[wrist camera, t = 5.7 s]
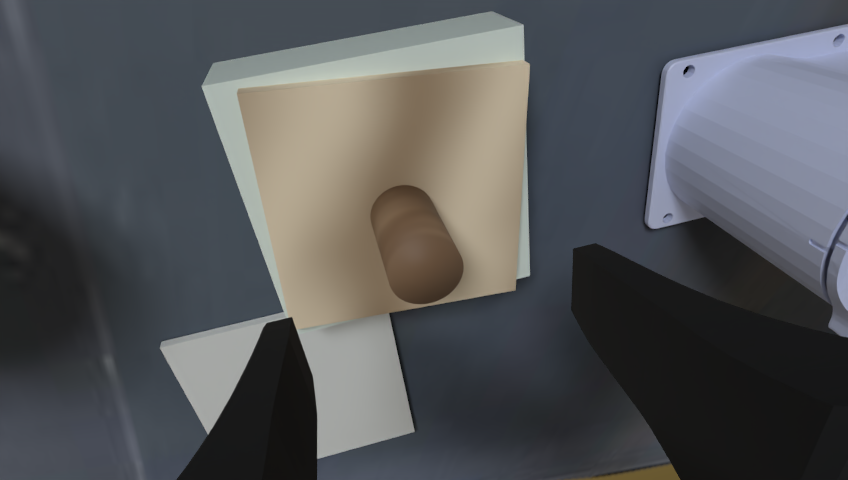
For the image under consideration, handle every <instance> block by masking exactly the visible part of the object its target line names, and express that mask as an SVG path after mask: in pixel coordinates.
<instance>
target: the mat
mask: <svg viewBox="0 0 848 480" xmlns="http://www.w3.org/2000/svg"><path fill="white" fill-rule="evenodd" d="M285 318H286V316H285V313H284V312H282V313H278V314H274V315H270V316H266V317H261V318H257V319H253V320H249V321H245V322H241V323H237V324H233V325H228V326H224V327H220V328H216V329H212V330H208V331H204V332H200V333H195V334H191V335H187V336H183V337H179V338H175V339H171V340H167V341H162V342H161V346H160V349H161V351H162V353H163V354H164V356H165V358H166V360H167V362H168V363H169V365H170V367H171V369H172V371H173V372H174V374H175V376H176V378H177V380H178V381H179V383H180V385H181V387H182V389H183V390H184V392H185V394H186V396H187V397H188V399H189V401H190V403H191V405H192V406H193V408H194V410H195V412H196V414H197V415H198V417H199V419H200V421H201V423H202V424H203V426H204V428H205V430H206V432H207V433H208V434H209V432H210V431H211V429H212V428H213V426H214V424H215V423H216V421H217V419H218V418H219V416H220V414H221V412H222V411H223V409H224V407H225V405H226V404H227V402H228V400H229V399H230V397H231V395H232V393H233V391H234V389H235V387H236V385H237V383H238V381H239V379H240V377H241V375H242V373H243V371H244V369H245V367H246V365H247V363H248V361H249V359H250V357H251V355H252V353H253V350H254V348H255V346H256V344H257V341H258V339H259V337H260V334H261V332H262V329H263V327H264V326H265V325H266V323H268V322H273V321H277V320H281V319H285ZM299 338H300V341H301V344H302V347H303V350H304V352H305V355H306V358H307V361H308V364H309V367H310V369H311V372H312V375H313V381H314V389H315V398H316V407H317V459H319V458H322V457H326V456H329V455H333V454H337V453H340V452H344V451H347V450H351V449H355V448H358V447H362V446H365V445H369V444H373V443H376V442H380V441H383V440H387V439H391V438H394V437H398V436H401V435H405V434H409V433H412V432H415V431H414V426H413V422H412V417H411V412H410V408H409V403H408V399H407V394H406V389H405V385H404V380H403V376H402V371H401V367H400V362H399V357H398V353H397V348H396V344H395V339H394V334H393V330H392V325H391V321H390V316H389V313H386V314H381V315H375V316H370V317H366V318H362V319H358V320H354V321H350V322H346V323H342V324H338V325H334V326H330V327H326V328H322V329H318V330H314V331H310V332H306V333H303V334H299Z"/></svg>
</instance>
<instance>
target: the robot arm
mask: <svg viewBox="0 0 848 480" xmlns="http://www.w3.org/2000/svg"><path fill="white" fill-rule="evenodd" d="M835 38H836V39H835ZM834 39H835V41H834ZM833 41H834V42H833ZM687 66H689V69H688V71H687V73H686V74H685V75H683V72H684V69H685V68H686V67H687ZM666 214H667V216H666V217H665V218H663V217H664V216H665V215H666ZM703 217H706V218H707V219H709V220H710V221H712V222H713V223H715V224H716V225H717V226H719V227H720V228H722V229H723V230H725V231H726V232H727V233H729V234H730V235H732V236H733V237H735V238H736V239H737V240H739V241H740V242H742V243H743V244H745V245H746V246H747V247H749V248H750V249H752V250H753V251H755V252H756V253H757V254H759V255H760V256H762V257H763V258H765V259H766V260H767V261H769V262H770V263H772V264H773V265H775V266H776V267H777V268H779V269H780V270H782V271H783V272H785V273H786V274H787V275H789V276H790V277H792V278H793V279H795V280H796V281H797V282H799V283H800V284H802V285H803V286H805V287H806V288H807V289H809V290H810V291H812V292H813V293H815V294H816V295H818V296H819V297H820V298H822V299H823V300H825V301H826V302H828V303H829V304H830V305H832V306H833V313H832V317H831V319H830V322H829V324H828V327H829V328H830V329H832V330H833V331H834V332H836V333H837V334H838V335H840V336H838V335H833V334H829V333H825V332H821V331H817V330H812V329H808V328H805V327H801V326H797V325H794V324H790V323H786V322H783V321H779V320H776V319H772V318H769V317H766V316H763V315H759V314H756V313H753V312H751V311H748V310H745V309H742V308H739V307H736V306H733V305H730V304H728V303H725V302H722V301H720V300H717V299H714V298H712V297H710V296H707V295H705V294H702V293H700V292H698V291H695V290H693V289H690V288H688V287H686V286H684V285H681V284H679V283H677V282H675V281H673V280H670V279H668V278H666V277H664V276H662V275H660V274H658V273H656V272H654V271H652V270H650V269H648V268H645V267H643V266H641V265H639V264H637V263H635V262H633V261H631V260H629V259H627V258H625V257H623V256H621V255H619V254H617V253H615V252H613V251H611V250H609V249H607V248H605V247H603V246H601V245H598V244H596V243H595V244H591V245H587V246H583V247H578V248H574V249H573V275H572V306H571V310H572V312H573V314H574V316H575V318H576V320H577V322H578V324H579V326H580V327H581V329H582V331H583V333H584V335H585V336H586V338H587V340H588V342H589V343H590V345H591V346H592V347H593V349H594V350H595V352H596V353H597V354H598V356H599V357H600V359H601V360H602V361H603V363H604V364H605V365H606V367H607V368H608V369H609V371H610V372H611V373H612V375H613V376H614V378H615V379H616V380H617V382H618V383H619V384H620V386H621V387H622V388H623V390H624V391H625V392H626V394H627V395H628V396H629V398H630V399H631V400H632V402H633V403H634V405H635V406H636V407H637V409H638V410H639V411H640V413H641V414H642V416H643V417H644V419H645V420H646V422H647V423H648V425H649V426H650V428H651V429H652V431H653V433H654V435H655V436H656V438H657V440H658V441H659V443H660V445H661V446H662V448H663V450H664V451H665V453H666V455H667V457H668V458H669V460H670V462H671V463H672V465H673V467H674V469H675V471H676V472H677V474H678V476H679V478H680V479H681V480H848V24H846V25H841V26H836V27H831V28H827V29H822V30H817V31H812V32H807V33H802V34H797V35H792V36H787V37H782V38H777V39H772V40H767V41H762V42H758V43H753V44H748V45H743V46H738V47H733V48H728V49H723V50H718V51H713V52H708V53H703V54H698V55H693V56H689V57H684V58H679V59H674V60H672V61H669V62H668V63H667V64H666V65H665V67H664V68H663V71H662V74H661V83H660V92H659V100H658V109H657V117H656V126H655V134H654V143H653V151H652V160H651V168H650V177H649V185H648V194H647V203H646V211H645V223H646V225H647V226H648V227H650V228H652V229H658V228H662V227H666V226H670V225H674V224H678V223H682V222H686V221H691V220H695V219H699V218H703ZM177 480H317V407H316V398H315V389H314V381H313V375H312V372H311V369H310V367H309V364H308V361H307V358H306V355H305V352H304V350H303V347H302V344H301V341H300V338H299V335H298V332H297V330H296V327H295V324H294V321H293V318H292V317H289V318H285V319H281V320H277V321H273V322H268V323H266V325H265V326H264V327H263V329H262V332H261V334H260V337H259V339H258V341H257V344H256V346H255V348H254V350H253V353H252V355H251V357H250V359H249V361H248V363H247V365H246V367H245V369H244V371H243V373H242V375H241V377H240V379H239V381H238V383H237V385H236V387H235V389H234V391H233V393H232V395H231V397H230V399H229V400H228V402H227V404H226V405H225V407H224V409H223V411H222V412H221V414H220V416H219V418H218V419H217V421H216V423H215V424H214V426H213V428H212V429H211V431H210V432H209V434H208V436H207V437H206V439H205V440H204V442H203V443H202V445H201V446H200V448H199V449H198V451H197V452H196V454H195V455H194V457H193V458H192V459H191V461H190V462H189V464H188V465H187V466H186V468H185V469H184V471H183V472H182V473H181V474H180V476H179V477H178V478H177Z"/></svg>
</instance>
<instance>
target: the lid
mask: <svg viewBox="0 0 848 480" xmlns="http://www.w3.org/2000/svg"><path fill="white" fill-rule="evenodd" d="M529 72H530V64H529V63H527V62H525V61H524V60H518V61H508V62H498V63H488V64H478V65H468V66H458V67H448V68H438V69H428V70H418V71H408V72H398V73H388V74H378V75H368V76H358V77H348V78H338V79H328V80H318V81H308V82H298V83H288V84H278V85H268V86H258V87H248V88H238V91H237V97H238V101H239V106H240V110H241V114H242V119H243V123H244V127H245V132H246V136H247V140H248V145H249V149H250V153H251V158H252V162H253V166H254V171H255V175H256V179H257V184H258V188H259V192H260V196H261V201H262V205H263V209H264V214H265V218H266V222H267V227H268V231H269V235H270V240H271V244H272V248H273V253H274V257H275V261H276V266H277V270H278V274H279V279H280V283H281V287H282V291H283V296H284V300H285V304H286V309H287V313H288V317H292V318H293V321H294V324H295V327H296V330H297V329H303V328H308V327H314V326H320V325H325V324H331V323H336V322H342V321H347V320H353V319H359V318H364V317H370V316H375V315H381V314H386V313H392V312H398V311H403V310H409V309H414V308H420V307H425V306H431V305H437V304H442V303H448V302H453V301H459V300H464V299H470V298H476V297H481V296H487V295H492V294H498V293H503V292H509V291H515V290H516V275H517V259H518V244H519V228H520V212H521V197H522V181H523V166H524V150H525V134H526V119H527V103H528V88H529Z"/></svg>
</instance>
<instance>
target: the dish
mask: <svg viewBox="0 0 848 480" xmlns="http://www.w3.org/2000/svg"><path fill="white" fill-rule="evenodd" d="M518 60H524V25H523V24H521V23H518V22H516V21H513V20H511V19H509V18H506V17H504V16H502V15H499V14H497V13H495V12H492V11H491V12H486V13H480V14H475V15H470V16H464V17H459V18H454V19H448V20H443V21H437V22H432V23H427V24H421V25H416V26H411V27H405V28H400V29H394V30H389V31H384V32H378V33H373V34H368V35H362V36H357V37H351V38H346V39H341V40H335V41H330V42H324V43H319V44H314V45H308V46H303V47H298V48H292V49H287V50H281V51H276V52H271V53H265V54H260V55H255V56H249V57H244V58H238V59H233V60H228V61H222V62H217V63H213V65H212V67H211V69H210V71H209V73H208V75H207V77H206V79H205V81H204V83H203V85H202V89H203V92H204V94H205V97H206V100H207V103H208V105H209V108H210V111H211V114H212V116H213V119H214V122H215V124H216V127H217V130H218V133H219V135H220V138H221V141H222V144H223V146H224V149H225V152H226V155H227V157H228V160H229V163H230V165H231V168H232V171H233V174H234V176H235V179H236V182H237V185H238V187H239V190H240V193H241V196H242V198H243V201H244V204H245V207H246V209H247V212H248V215H249V217H250V220H251V223H252V226H253V228H254V231H255V234H256V237H257V239H258V242H259V245H260V248H261V250H262V253H263V256H264V259H265V261H266V264H267V267H268V269H269V272H270V275H271V278H272V280H273V283H274V286H275V289H276V291H277V294H278V297H279V300H280V302H281V305H282V308H283V310H284V313H285V316H286V318H289V317H288V313H287V309H286V304H285V300H284V296H283V291H282V287H281V283H280V279H279V274H278V270H277V266H276V261H275V257H274V253H273V248H272V244H271V240H270V235H269V231H268V227H267V222H266V218H265V214H264V209H263V205H262V201H261V196H260V192H259V188H258V184H257V179H256V175H255V171H254V166H253V162H252V158H251V153H250V149H249V145H248V140H247V136H246V132H245V127H244V123H243V119H242V114H241V110H240V106H239V101H238V97H237V91H238V88H248V87H258V86H268V85H278V84H288V83H298V82H308V81H318V80H328V79H338V78H348V77H358V76H368V75H378V74H388V73H398V72H408V71H418V70H428V69H438V68H448V67H458V66H468V65H478V64H488V63H498V62H508V61H518ZM527 276H530V257H529V219H528V180H527V141H526V134H525V150H524V166H523V181H522V197H521V212H520V228H519V244H518V259H517V275H516V279H520V278H524V277H527ZM364 318H366V317H364ZM359 319H362V318H359ZM354 320H358V319H353V320H347V321H342V322H336V323H331V324H325V325H320V326H314V327H308V328H303V329H297V332H298V335H299V334H303V333H306V332H310V331H314V330H318V329H322V328H326V327H330V326H334V325H338V324H342V323H346V322H350V321H354Z"/></svg>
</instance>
